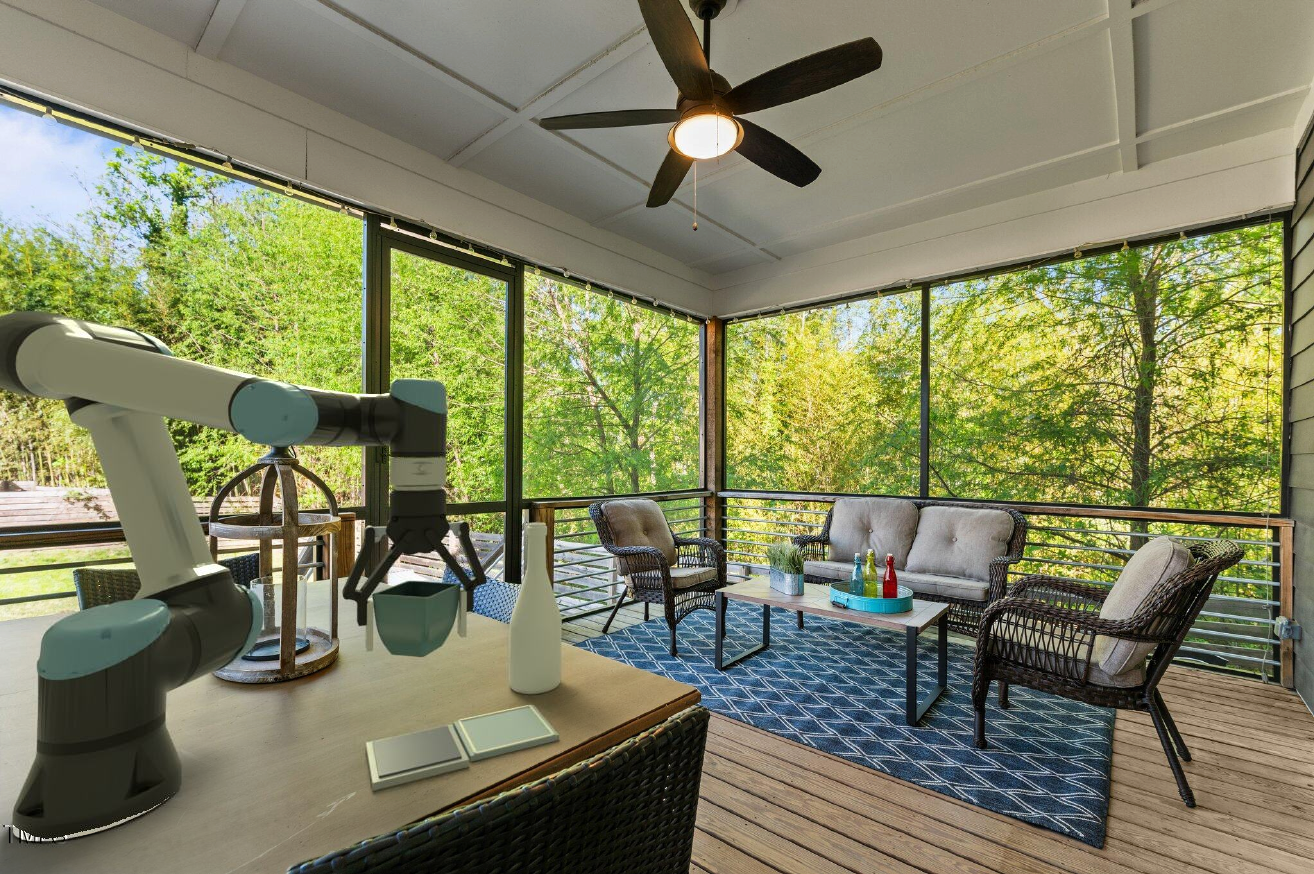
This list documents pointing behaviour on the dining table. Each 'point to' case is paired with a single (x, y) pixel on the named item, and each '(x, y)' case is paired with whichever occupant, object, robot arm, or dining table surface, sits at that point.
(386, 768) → the ink pad
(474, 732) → the board
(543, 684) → the wine bottle
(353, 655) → the dining table surface
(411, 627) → the flower pot
